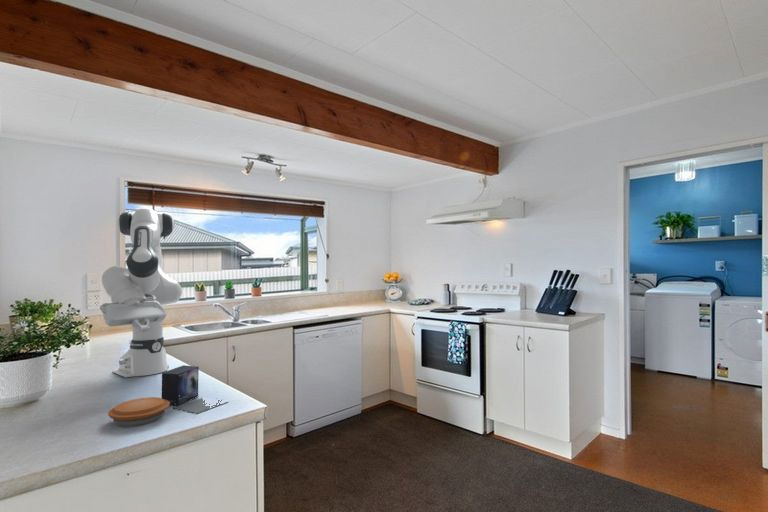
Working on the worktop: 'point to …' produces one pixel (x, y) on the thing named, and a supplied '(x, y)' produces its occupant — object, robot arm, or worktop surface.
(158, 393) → the worktop surface
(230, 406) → the worktop surface
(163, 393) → the small box
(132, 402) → the pie
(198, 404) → the rubber mat
